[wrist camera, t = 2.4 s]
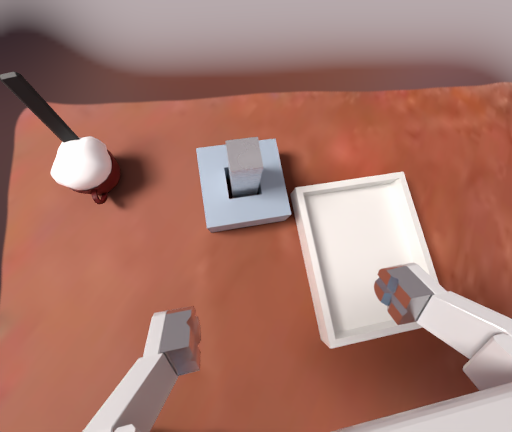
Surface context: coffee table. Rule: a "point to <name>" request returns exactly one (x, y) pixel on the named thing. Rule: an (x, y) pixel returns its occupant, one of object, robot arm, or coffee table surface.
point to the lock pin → (244, 166)
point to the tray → (357, 251)
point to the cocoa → (70, 147)
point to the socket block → (244, 208)
